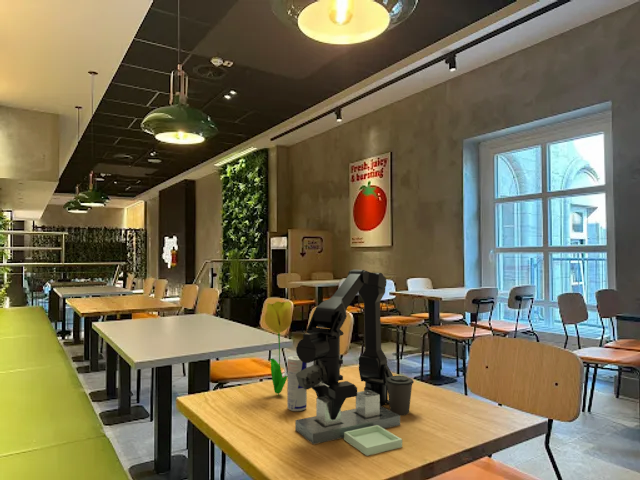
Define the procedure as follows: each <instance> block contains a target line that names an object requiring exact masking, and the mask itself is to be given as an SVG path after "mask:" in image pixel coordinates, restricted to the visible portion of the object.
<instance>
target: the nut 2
mask: <svg viewBox="0 0 640 480" xmlns="http://www.w3.org/2000/svg"><path fill="white" fill-rule="evenodd" d="M380 406H381V405H380V395H379V394H377V393H375V392H373V391H371V390H367V391H364V390H362V391H357V396H356V397H355V409H356V415H358V416H360V417H361V418H363V419H369V418H374V417H379V416H380Z"/></svg>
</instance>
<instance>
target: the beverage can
mask: <svg viewBox="0 0 640 480" xmlns="http://www.w3.org/2000/svg"><path fill="white" fill-rule="evenodd" d="M307 365H308V363H304V362H302V361H301V360H300V359H299V358H298V356H297V355H291V356H288V357H287V376H288V377H287V392H286V393H287V396H286V397H287V401H286V403H287V404H286V405H287V407H286V408H287V409H288V410H289V411H292V412H302V411H304V410H306V409H307V408H308V407H307V398H308V397H307V392H308V391H307V390H308V389H307V390H305V389H304V388H303V387H300V386H299V383H298V380H297V377H296V374H297V373H298V372H300V371H302V370H304V369H305V368H307V367H308V366H307Z"/></svg>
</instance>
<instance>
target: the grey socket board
mask: <svg viewBox="0 0 640 480" xmlns="http://www.w3.org/2000/svg"><path fill="white" fill-rule="evenodd" d="M294 423H295V427H294V429H295V432H297V433H299V434H300V435H301V436H303V438H304V439H306V440H307V441H308V442H310V443H311V444H312V445H316V444H320V443H321V444H322V443H327V442H330V441H334V440H340V439H344V432H347V431H352V430H356V429H361V428H366V427H370V426H375V425H379V426H380V427H382V428H384V429H385V430H386V429H389V428H394V427H398V426H401V415H398V414H396V413H394V412H392V411H390V409H388V408H387V407H384V406H383V405H380V416H379V417H374V418H369V419H363V418H361V417H360V416H358V415H356V408H352V409H348V410H341V424H340V425H335V426H330V427H325V428H324V427H322V426H321V425H319V424H318V423H317V422H316V415H314V416H310V417H304V418H298V419H295V421H294Z"/></svg>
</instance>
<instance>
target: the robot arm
mask: <svg viewBox="0 0 640 480" xmlns="http://www.w3.org/2000/svg"><path fill="white" fill-rule="evenodd" d="M387 284H388V283H387V278H386V276H385V275H384V274H383V273H382V272H370V271H368V270H366V269H350V270H349V271H348V273H347V277H345V279H344V281H343V282H342V283H341V284H340V286H339V287H338V288H337V290H336V291H335V292H334V294H333V295H332V296H331V297H330V298H329V299H326V300H324V301H322V302H320V303H319V304H318V305H317V306H316V307H315V309H314V311H313V313H312V314H311V315H312V316H311V319H310V321H309V324H308V326H307V329H306V331H305V333H303V335H302V339H300V340H299V341H298V343H297V346H296V347H295V348H296V349H295V351H296V356H298V358H299V359H300V360H301V361H302V362H304V363H307V364H309V363H312V362H313V363H312V365H310V366H307V368H305V369H304V370H302V371H300V372H298V373H297V374H296V377H297V380H298V383H299V386H300V387H303V388H304V389H305V390H310V389H312V390H313V391H314V392H315V393H316V395H315V396H316V398H317V397H323V396H326V397H327V398H328V399H329V406H330V415H331V420H335V419H336V417H337V415H338V413H339V411H340V409H341V410H342V408H343V405H344V402H345V401H346V400H347V399H348V398H354V397H355V398H356V396H357V392H358V387H357V386H356V385H355V384H354V383H352V382H350V381H348V380H345V381H343V380H344V376H343V375H342V374H341V373H340V371H341V365H343V364H344V359H342V358H340V357H341V349H340V348H341V336H344V334H345V333H344V332H343V330H342V329H341V328H342V326H343V325H344V324H345V321H346V320H347V315H348V314H347V309H348V307H349V306H350V305H351V303H352V301H353V300H354V299H355V297H356V296H357V295H359V296H360V298H361V300H362V301H363V321H364V322H363V323H364V351H363V352H362V354H361V355H360V356H359V357H358V372H359V373H358V374H359V377H360V382H365V383H364V386H365V387H363V391H367V390H371V391H373V392H375V393H377V394H379V395H380V406H383V405H389V397H388V388H387V382H386V381H385V380H386V378H388V377H391V376H394V374H393V373H392V371H391V369H390V367H389V365H388V359H387V356H386V354H385V353H384V351H383V349H382V333H381V332H382V331H381V330H382V328H381V326H382V325H381V300H382V299H383V298H384V296H385V294H386V287H387Z"/></svg>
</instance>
